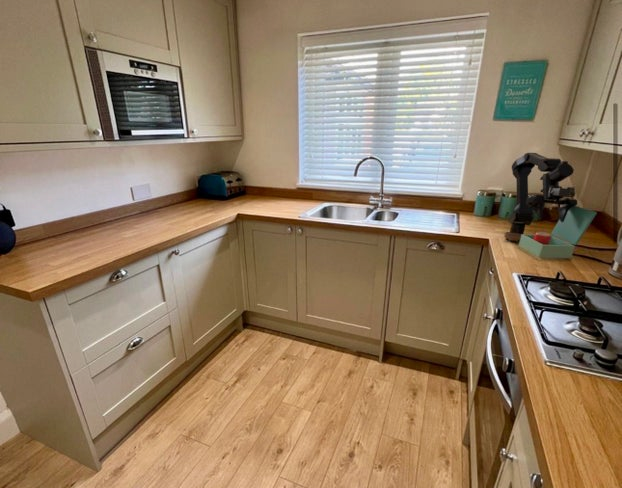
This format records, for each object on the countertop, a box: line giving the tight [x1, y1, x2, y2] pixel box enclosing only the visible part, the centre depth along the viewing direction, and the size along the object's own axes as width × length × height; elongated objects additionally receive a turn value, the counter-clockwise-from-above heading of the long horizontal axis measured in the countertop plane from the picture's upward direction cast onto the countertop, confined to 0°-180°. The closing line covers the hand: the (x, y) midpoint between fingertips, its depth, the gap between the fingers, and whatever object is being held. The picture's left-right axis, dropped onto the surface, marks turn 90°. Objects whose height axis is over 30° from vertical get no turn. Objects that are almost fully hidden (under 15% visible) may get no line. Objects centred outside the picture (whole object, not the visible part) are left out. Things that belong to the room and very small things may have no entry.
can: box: [533, 231, 552, 245], centre depth 144 cm, size 6×6×8 cm
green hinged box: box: [518, 233, 576, 259], centre depth 144 cm, size 14×15×6 cm
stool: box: [503, 232, 522, 245], centre depth 158 cm, size 9×9×4 cm
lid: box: [550, 205, 598, 246], centre depth 140 cm, size 14×15×1 cm
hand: (551, 220), depth 140 cm, fingers open, 9 cm apart
